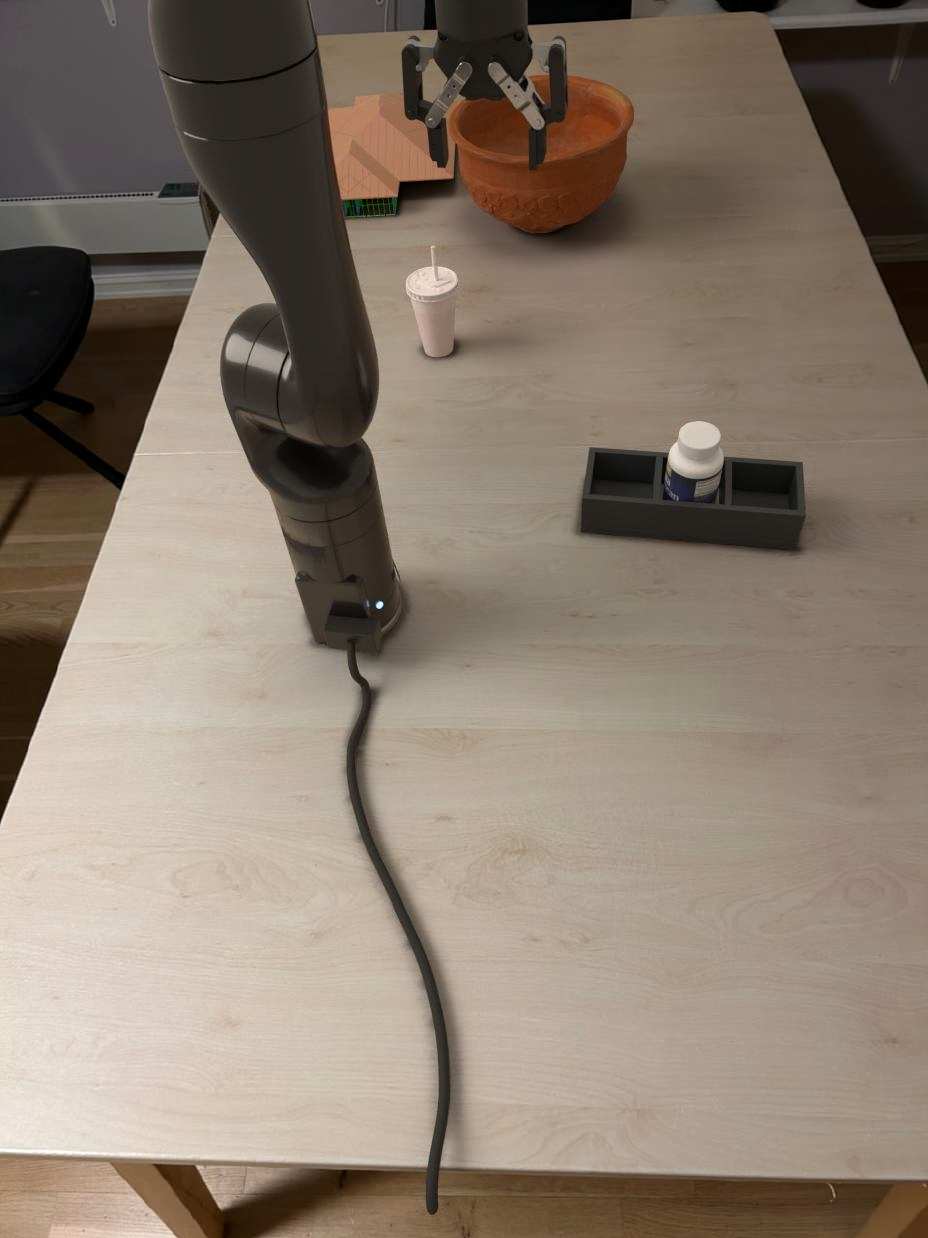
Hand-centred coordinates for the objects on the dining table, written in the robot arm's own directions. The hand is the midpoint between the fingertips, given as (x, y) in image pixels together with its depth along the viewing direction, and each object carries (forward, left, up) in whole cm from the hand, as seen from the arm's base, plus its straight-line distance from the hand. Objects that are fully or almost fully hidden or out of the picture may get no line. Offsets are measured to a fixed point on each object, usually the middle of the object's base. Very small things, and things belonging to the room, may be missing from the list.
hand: (488, 165), depth 86 cm
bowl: (+45, +1, -30) cm, 54 cm away
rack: (-13, -22, -30) cm, 39 cm away
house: (+60, +28, -30) cm, 73 cm away
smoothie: (+13, +10, -30) cm, 34 cm away
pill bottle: (-13, -22, -29) cm, 39 cm away
